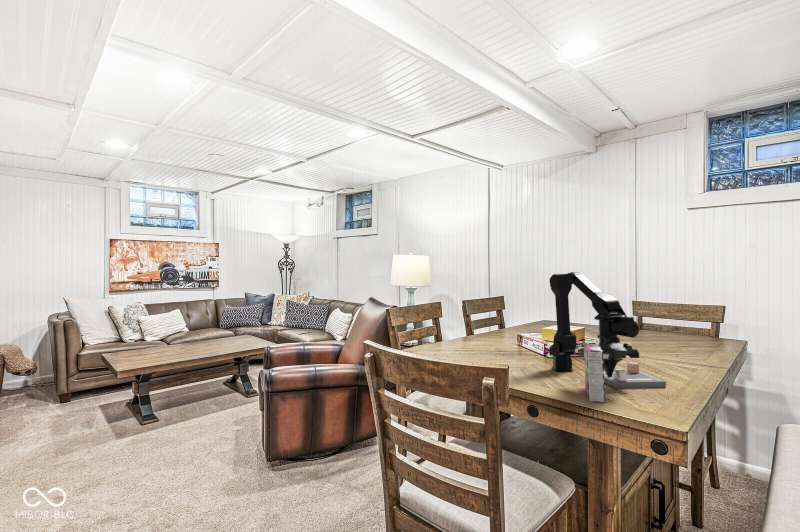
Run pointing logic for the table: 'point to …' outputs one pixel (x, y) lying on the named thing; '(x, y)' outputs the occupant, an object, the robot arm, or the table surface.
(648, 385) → the console
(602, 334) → the robot arm
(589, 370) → the candy bar box
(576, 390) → the table surface
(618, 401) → the table surface
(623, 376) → the fader
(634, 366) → the block
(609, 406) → the table surface
